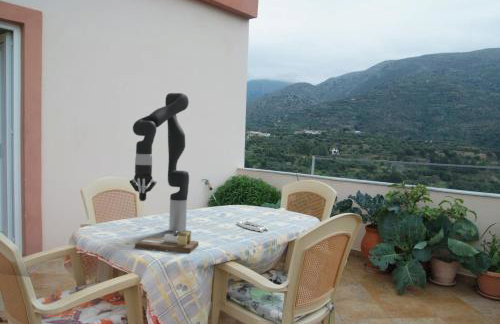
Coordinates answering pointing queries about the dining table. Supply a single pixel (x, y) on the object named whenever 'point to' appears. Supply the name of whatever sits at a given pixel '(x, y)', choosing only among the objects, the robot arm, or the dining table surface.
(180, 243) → the keeper
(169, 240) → the bolt
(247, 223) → the door handle
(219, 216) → the dining table surface
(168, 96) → the robot arm
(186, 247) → the door panel
